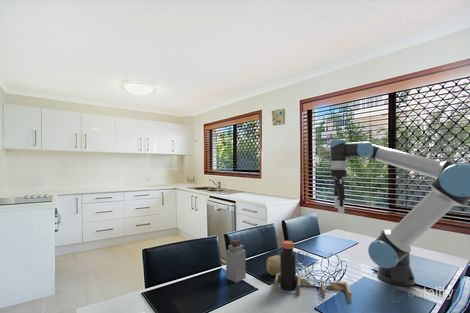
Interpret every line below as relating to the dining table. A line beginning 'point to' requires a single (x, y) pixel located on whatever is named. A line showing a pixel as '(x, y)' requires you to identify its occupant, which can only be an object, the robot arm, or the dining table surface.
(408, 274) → the robot arm
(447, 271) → the dining table surface
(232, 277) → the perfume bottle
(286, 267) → the vinegar
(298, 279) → the comb rack
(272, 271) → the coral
